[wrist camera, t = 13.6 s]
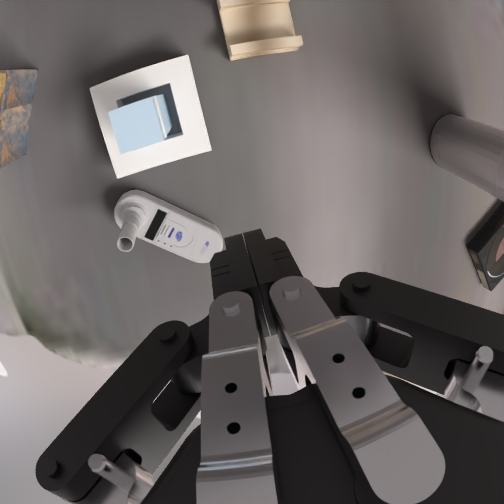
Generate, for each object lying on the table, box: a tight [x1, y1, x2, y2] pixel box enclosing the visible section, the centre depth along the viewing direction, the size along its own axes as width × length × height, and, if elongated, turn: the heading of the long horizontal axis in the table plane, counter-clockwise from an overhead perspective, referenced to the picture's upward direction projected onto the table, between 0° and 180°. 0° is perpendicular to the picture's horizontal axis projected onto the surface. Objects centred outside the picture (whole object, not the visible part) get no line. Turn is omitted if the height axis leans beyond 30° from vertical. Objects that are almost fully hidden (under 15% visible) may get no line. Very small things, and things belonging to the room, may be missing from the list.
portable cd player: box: [467, 202, 504, 291], centre depth 52 cm, size 16×17×4 cm
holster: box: [217, 0, 303, 61], centre depth 28 cm, size 8×8×3 cm
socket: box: [90, 55, 211, 179], centre depth 31 cm, size 11×11×4 cm
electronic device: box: [114, 190, 223, 263], centre depth 37 cm, size 5×10×15 cm
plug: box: [108, 94, 173, 154], centre depth 28 cm, size 4×4×10 cm
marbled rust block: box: [0, 69, 38, 168], centre depth 25 cm, size 11×3×10 cm, turn 162°
